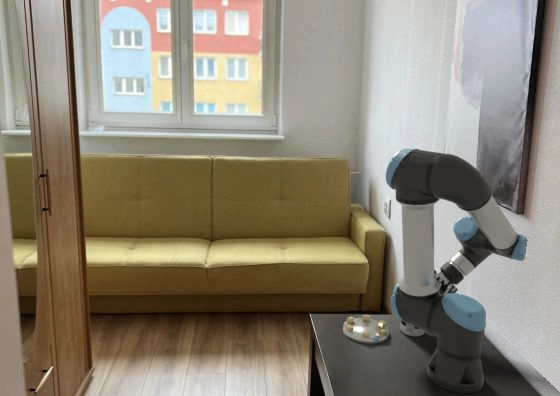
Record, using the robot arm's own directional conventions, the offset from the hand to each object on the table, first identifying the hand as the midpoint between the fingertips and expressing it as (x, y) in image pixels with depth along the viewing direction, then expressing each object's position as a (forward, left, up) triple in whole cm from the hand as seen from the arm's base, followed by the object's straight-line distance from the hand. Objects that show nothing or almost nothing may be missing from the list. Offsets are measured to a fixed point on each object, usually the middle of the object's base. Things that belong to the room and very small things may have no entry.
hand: (409, 312), depth 162 cm
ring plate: (+10, +11, -7) cm, 16 cm away
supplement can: (-1, -1, -7) cm, 7 cm away
